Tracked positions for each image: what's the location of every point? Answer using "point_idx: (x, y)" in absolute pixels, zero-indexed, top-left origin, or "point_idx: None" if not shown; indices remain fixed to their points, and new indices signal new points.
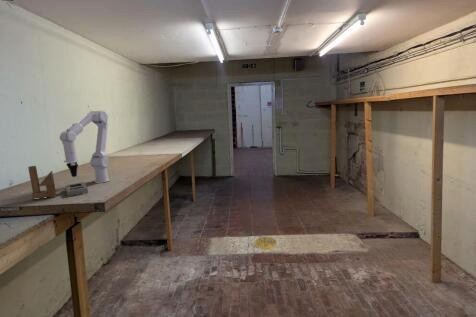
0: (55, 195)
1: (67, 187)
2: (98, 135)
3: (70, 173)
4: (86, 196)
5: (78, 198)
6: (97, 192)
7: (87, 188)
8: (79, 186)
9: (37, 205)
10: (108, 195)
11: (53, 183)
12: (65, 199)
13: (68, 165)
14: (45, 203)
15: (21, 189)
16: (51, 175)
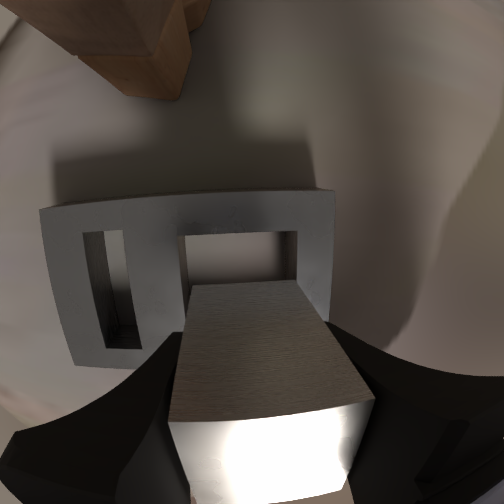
0: (141, 95)
1: (208, 207)
2: None
3: (182, 346)
4: (23, 319)
5: (3, 270)
6: (83, 386)
7: (76, 362)
8: (165, 321)
9: (21, 30)
10: (16, 402)
11: (108, 54)
12: (18, 185)
13: (9, 483)
14: (21, 64)
15: (488, 4)
16: (15, 3)
